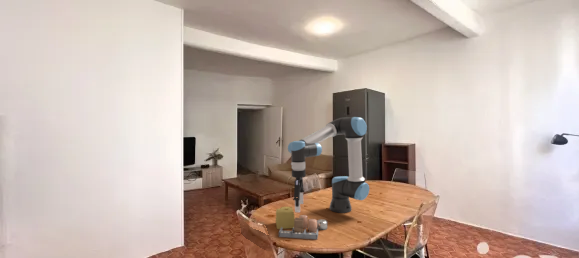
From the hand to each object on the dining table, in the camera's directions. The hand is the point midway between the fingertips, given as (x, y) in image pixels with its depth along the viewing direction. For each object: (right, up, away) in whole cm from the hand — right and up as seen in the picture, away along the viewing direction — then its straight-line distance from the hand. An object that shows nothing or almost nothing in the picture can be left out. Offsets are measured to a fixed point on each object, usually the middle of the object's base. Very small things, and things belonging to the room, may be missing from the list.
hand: (299, 207), depth 145 cm
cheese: (-8, -15, +13) cm, 21 cm away
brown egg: (+3, -14, +11) cm, 18 cm away
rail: (0, -15, -1) cm, 15 cm away
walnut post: (0, -14, 0) cm, 14 cm away
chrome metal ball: (+14, -14, +9) cm, 22 cm away
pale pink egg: (+8, -15, +5) cm, 17 cm away
